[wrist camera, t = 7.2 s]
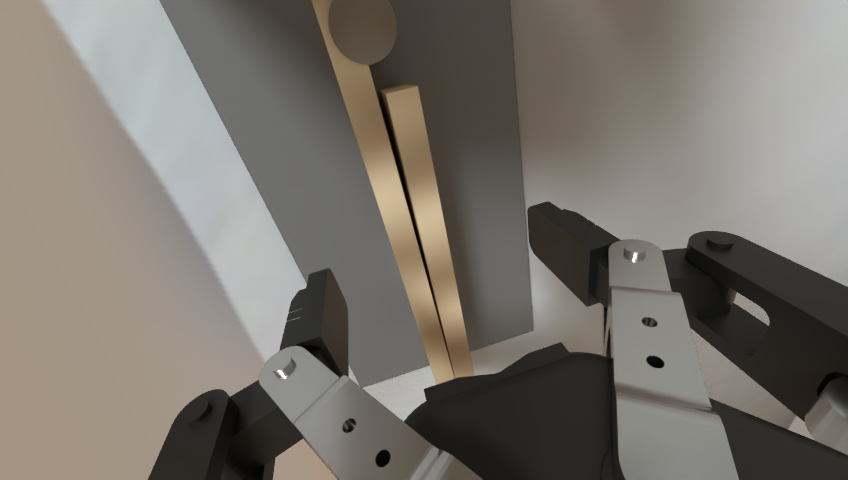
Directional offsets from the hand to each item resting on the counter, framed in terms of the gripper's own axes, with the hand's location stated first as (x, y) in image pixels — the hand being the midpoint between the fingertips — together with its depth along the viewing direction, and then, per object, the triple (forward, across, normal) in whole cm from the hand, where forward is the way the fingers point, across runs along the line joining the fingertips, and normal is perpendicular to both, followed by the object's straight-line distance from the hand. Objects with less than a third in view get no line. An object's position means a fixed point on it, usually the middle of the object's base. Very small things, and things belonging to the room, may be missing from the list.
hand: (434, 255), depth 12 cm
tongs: (+9, 0, +2) cm, 9 cm away
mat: (+9, 0, +2) cm, 9 cm away
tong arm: (+8, -1, +4) cm, 9 cm away
